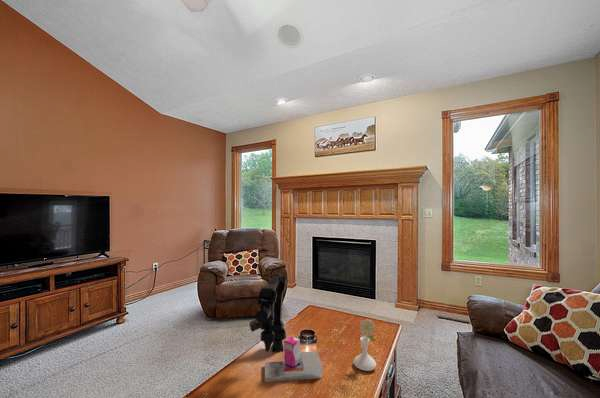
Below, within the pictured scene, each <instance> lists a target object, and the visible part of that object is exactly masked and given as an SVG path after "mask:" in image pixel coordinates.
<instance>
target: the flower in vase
mask: <svg viewBox="0 0 600 398" xmlns="http://www.w3.org/2000/svg"><path fill="white" fill-rule="evenodd" d="M375 330H376V328H375V323H374V322H373V321H372V320H371V319H367V318H365V319H362V321H361V322H360V324H359V331H360V333H361V334H362V336H361V337H359V339H360V341H361V345H362V352H361V353H360V354H358V355H356V356H355V357H354V359H353V365H354V366H355V367H356V368H357V369H359V370H360V371H361V370H362V371H367V372H371V371H373V370H375V368H376V367H377V363H376V360H375V359H374V358H373V357H372V356H371V355H370V354H368V344H369V342H370V341H371V342H376V340H375V337H374V336H373V333H374V331H375Z"/></svg>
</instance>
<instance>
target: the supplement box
mask: <svg viewBox="0 0 600 398" xmlns="http://www.w3.org/2000/svg"><path fill="white" fill-rule="evenodd" d="M300 339H301V338H297V337H295V336H292V335H291V336H289V337H288V338H286V339H284V340H283V352H284V353H283V354H284V357H285V364H286V365H288V366H290V367H292V368H294V367H295V366H297V365H298V364H299V363H301V362H300V352H301V340H300Z"/></svg>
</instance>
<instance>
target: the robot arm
mask: <svg viewBox="0 0 600 398" xmlns="http://www.w3.org/2000/svg"><path fill="white" fill-rule="evenodd" d="M287 285H288V280H287V278H286V277H284V276H283V275H282V274H281V273H272V274H271V278H270V280H269V282H268V283H267V284H266V285H264V286H262V287H261V289H260V290H259V293H258V294H259V295H258V299H257V305H260V306H259V308H258V310H257V311H256V313H255V319H254V320H251V321H250V322H249V327H250V328H249V329H250V331H251V333H252V332H255V331H257V330H259V329H260V330H262V331H261V332H260V341H261V342H263V344H264V348H265V352H269V351H270V348H271V352H284V340H286V339H287V331H286V328H285V324H284V322H283V320H282V318H283V317H282V315H283V299H284V297H283V296H284V295H283V294H284V292H285V290H286V288H287Z"/></svg>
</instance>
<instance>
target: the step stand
mask: <svg viewBox="0 0 600 398" xmlns="http://www.w3.org/2000/svg"><path fill="white" fill-rule="evenodd" d="M300 362H301V363H299V364H298V365H297V366H295V367H294V368H292V367H290V366H288V365H286V364H285V356H282V360H280V361H266V362H264V383H267V382H268V383H271V382H272V383H273V382H282V381H284V382H285V381H296V380H297V381H298V380H300V381H301V380H316V379H322V378H323V363H322V361H321V357H320V355H319V352H318V351H300Z"/></svg>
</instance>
